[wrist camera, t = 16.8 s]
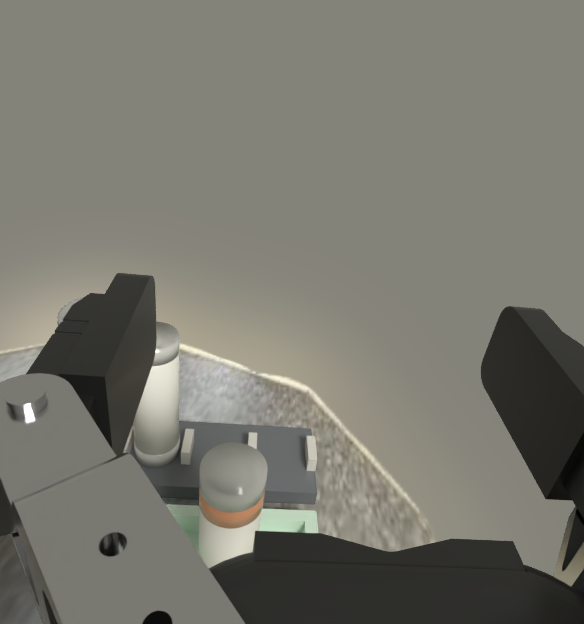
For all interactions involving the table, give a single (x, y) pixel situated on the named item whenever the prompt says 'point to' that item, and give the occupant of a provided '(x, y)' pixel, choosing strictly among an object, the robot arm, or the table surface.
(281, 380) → the table surface
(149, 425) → the plain fuse
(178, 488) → the clip block
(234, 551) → the cylinder
